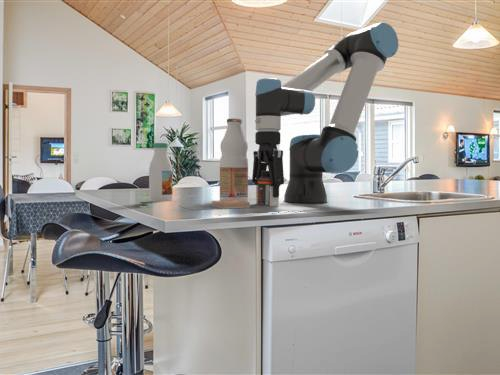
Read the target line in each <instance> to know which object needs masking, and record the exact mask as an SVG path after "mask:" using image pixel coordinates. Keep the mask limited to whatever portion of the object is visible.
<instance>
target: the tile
mask: <svg viewBox="0 0 500 375" xmlns="http://www.w3.org/2000/svg"><path fill="white" fill-rule="evenodd" d="M211 205H212V206H214V207H219V208H223V209H222V210H227V209H226V208H236V209H250V208H249V207H250V201H240V200H222V201H220V200H211Z"/></svg>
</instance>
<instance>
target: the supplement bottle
mask: <svg viewBox="0 0 500 375" xmlns="http://www.w3.org/2000/svg"><path fill="white" fill-rule="evenodd" d="M274 182H275V181H274ZM270 184H271V180H270V174H269V170H266V171H261V177H260V178H259V179H258V204H257V206H263V207H264V206H265V207H271V206H270V186H269V185H270Z"/></svg>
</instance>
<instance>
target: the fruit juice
mask: <svg viewBox="0 0 500 375" xmlns="http://www.w3.org/2000/svg"><path fill="white" fill-rule="evenodd" d="M242 122H243V121H242V119H241V118H227V120H226V125H227V127H226V130H225V133H224V136H223V138H222V140H221V141H220V147H219V148H220V153H221V157H220V159H219V201H222V200H240V201H246V202H249V201H248V200H249V159H248V156H247V153H248V151H249V150H248V148H249V144H248V141H247V140H246V137H245V135H244V132H243V129H242V126H241V125H242V124H243V123H242Z"/></svg>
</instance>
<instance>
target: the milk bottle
mask: <svg viewBox="0 0 500 375" xmlns="http://www.w3.org/2000/svg"><path fill="white" fill-rule="evenodd" d="M168 147H169V145H168V143H165V142H154V143H153V150H154V153H153V156H152V159H151V160H150V163H149V168H148V169H149V170H148V171H149V172H148V180H149V181H148V201H149V202H150V203H151V202H152V203H153V202H155V203H156V202H173V166H172V165H173V164H172V163H171V162H172V161H171V160H170V157H169V155H168Z"/></svg>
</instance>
